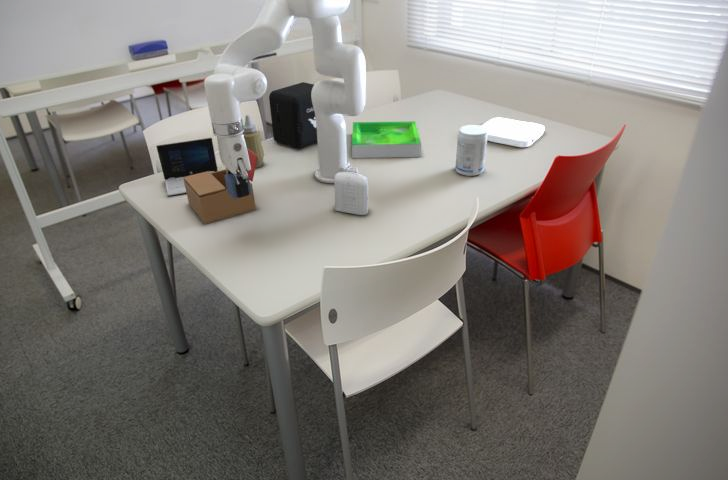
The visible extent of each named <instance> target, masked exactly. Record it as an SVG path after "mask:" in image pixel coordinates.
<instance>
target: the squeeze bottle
mask: <svg viewBox="0 0 728 480" xmlns="http://www.w3.org/2000/svg"><path fill="white" fill-rule="evenodd" d="M244 119H245V120H244V124H243V129H244V132H243V133H242V134H243V136H244V139H245V143H246V147H247V148H248V149H249V150H250V151H252V152H253V153H254V154H256V155H257V156H258V157H257V162H256V167H255V169H256V168H259V167H262V165H263V163H264V157H265V152H264V151H265V150H264V147H263V142H262V138H261V134H260V132H259V131H258V130H257V127H256V124H254V123H253V122H252V120H251V117H250V115H249V114H245V118H244Z"/></svg>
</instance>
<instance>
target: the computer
mask: <svg viewBox="0 0 728 480" xmlns="http://www.w3.org/2000/svg"><path fill="white" fill-rule="evenodd" d="M481 126H482V127H485V128H486V129H487V130H488V132H487V134H488V135H487V142H488V141H489V142H492V143H498V144H502V145H507V146H512V147H517V148H528V147H530V146H531V145H532V144H534V143H535V142H536V141H537V140H538V139H539V138H541V136H543V135H544V134H545V126H544V125H543V124H540V123H535V122H528V121H523V120H518V119H517V120H516V119H511V118H505V117H499V116H498V117H492V118H490V119H488V120H487V121H485V122H484V123H483V124H481Z"/></svg>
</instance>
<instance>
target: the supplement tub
mask: <svg viewBox="0 0 728 480" xmlns="http://www.w3.org/2000/svg"><path fill="white" fill-rule="evenodd" d="M487 132H488V130H487V129H486V128H485V127H482V125H478V124H477V125H476V124H468V125H467V124H466V125H462V126H460V127H459V128H458V133H457V143H456V154H455V157H456V158H455V168H454V169H455V171H456V173H458V174H460V175H463V176H468V177H473V176H478V175H481V174H482V173H483V172H484V170H485V161H486V152H487V143H488V141H487V135H488V134H487Z"/></svg>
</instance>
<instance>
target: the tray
mask: <svg viewBox="0 0 728 480" xmlns="http://www.w3.org/2000/svg"><path fill="white" fill-rule="evenodd" d="M351 133H352V135H351V158H352V159H366V158H367V159H368V158H371V159H372V158H421V151H422V142H421V138H420V134H419V131H418V127H417V122H416V121H415V120H414V121H413V120H411V121H410V120H407V121H353V122H352V132H351Z"/></svg>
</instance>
